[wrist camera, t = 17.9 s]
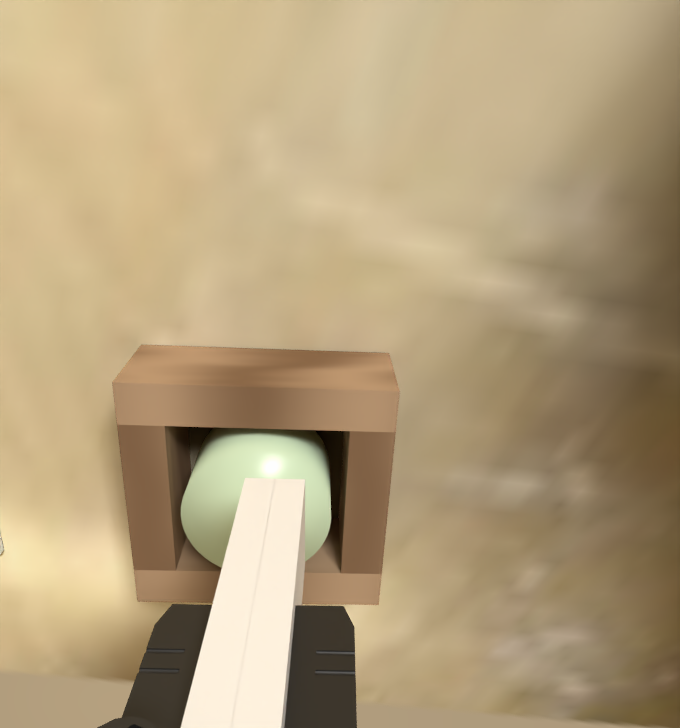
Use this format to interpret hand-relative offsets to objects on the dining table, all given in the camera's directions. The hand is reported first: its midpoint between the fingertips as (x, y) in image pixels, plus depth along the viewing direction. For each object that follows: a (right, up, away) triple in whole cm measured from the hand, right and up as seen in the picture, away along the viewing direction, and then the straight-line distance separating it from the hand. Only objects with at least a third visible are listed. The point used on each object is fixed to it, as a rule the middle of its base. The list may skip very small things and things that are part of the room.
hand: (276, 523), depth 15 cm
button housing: (-1, +1, +8) cm, 8 cm away
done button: (-1, 0, +7) cm, 7 cm away
